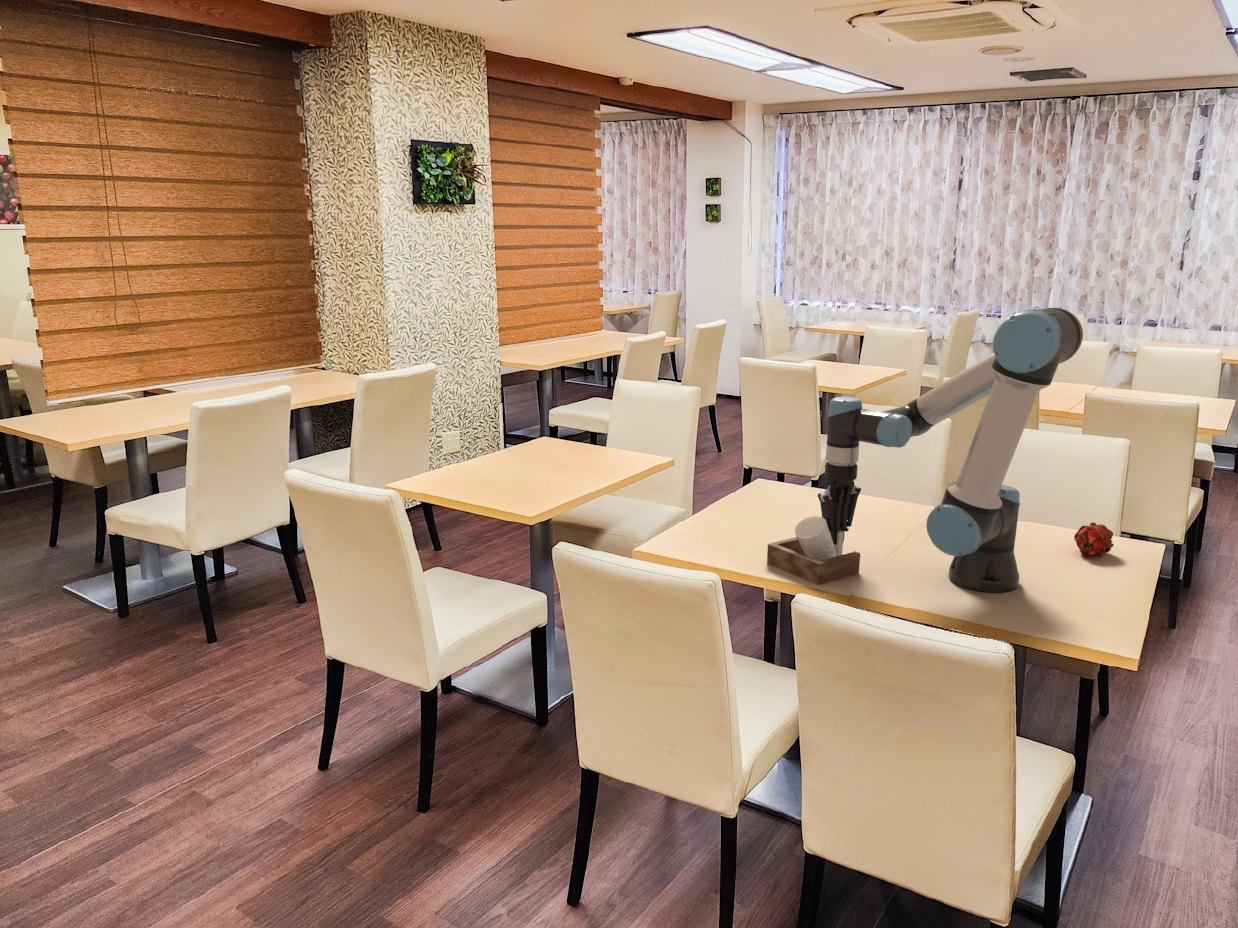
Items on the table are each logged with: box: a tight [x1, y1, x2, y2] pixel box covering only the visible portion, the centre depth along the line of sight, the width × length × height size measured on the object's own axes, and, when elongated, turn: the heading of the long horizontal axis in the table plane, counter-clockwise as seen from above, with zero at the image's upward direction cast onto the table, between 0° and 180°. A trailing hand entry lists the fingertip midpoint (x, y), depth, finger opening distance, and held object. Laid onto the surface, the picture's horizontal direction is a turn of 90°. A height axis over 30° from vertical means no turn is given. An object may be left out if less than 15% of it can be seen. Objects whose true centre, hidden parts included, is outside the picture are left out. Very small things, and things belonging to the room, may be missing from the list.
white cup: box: [793, 515, 836, 561], centre depth 222 cm, size 8×8×10 cm
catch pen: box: [766, 536, 861, 586], centre depth 222 cm, size 17×14×5 cm
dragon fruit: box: [1073, 522, 1115, 557], centre depth 232 cm, size 8×8×12 cm
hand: (835, 555), depth 227 cm, fingers closed
